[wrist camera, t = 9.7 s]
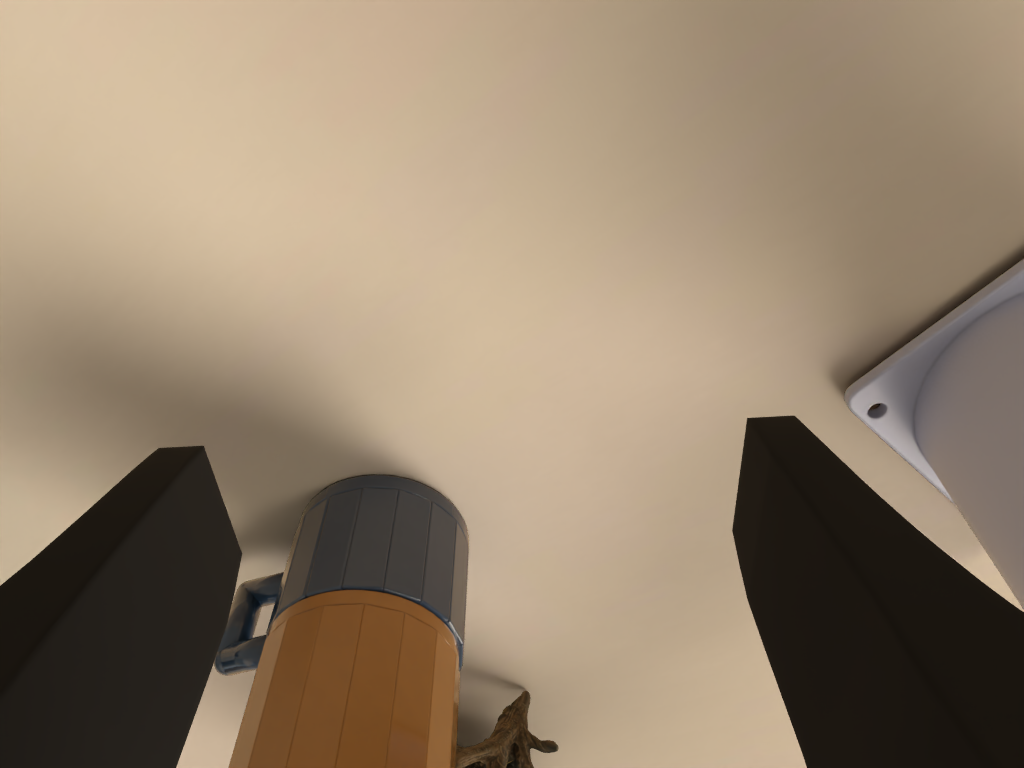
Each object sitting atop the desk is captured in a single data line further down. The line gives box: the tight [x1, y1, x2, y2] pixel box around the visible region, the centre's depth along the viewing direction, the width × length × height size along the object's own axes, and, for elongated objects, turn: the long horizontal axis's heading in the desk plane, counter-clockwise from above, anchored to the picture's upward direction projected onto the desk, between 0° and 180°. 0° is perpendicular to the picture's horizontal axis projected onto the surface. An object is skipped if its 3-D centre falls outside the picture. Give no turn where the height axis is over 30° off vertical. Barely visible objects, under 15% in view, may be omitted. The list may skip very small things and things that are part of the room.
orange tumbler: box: [229, 590, 460, 768], centre depth 20 cm, size 5×5×6 cm
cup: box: [214, 475, 469, 676], centre depth 25 cm, size 8×5×4 cm
